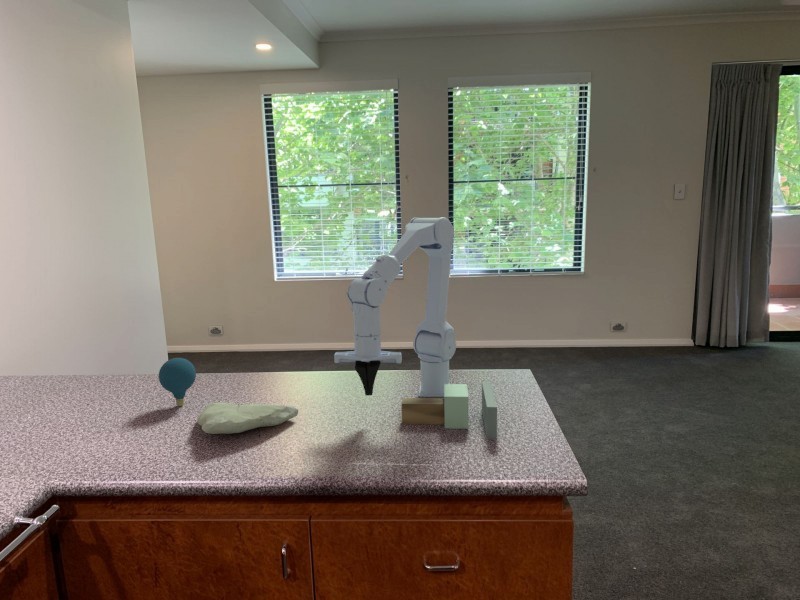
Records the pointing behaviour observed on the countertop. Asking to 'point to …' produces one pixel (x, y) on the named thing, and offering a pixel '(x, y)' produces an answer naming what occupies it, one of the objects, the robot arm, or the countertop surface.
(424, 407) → the bar
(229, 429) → the rock
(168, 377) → the light bulb
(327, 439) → the countertop surface
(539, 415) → the countertop surface
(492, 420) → the board
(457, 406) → the block
